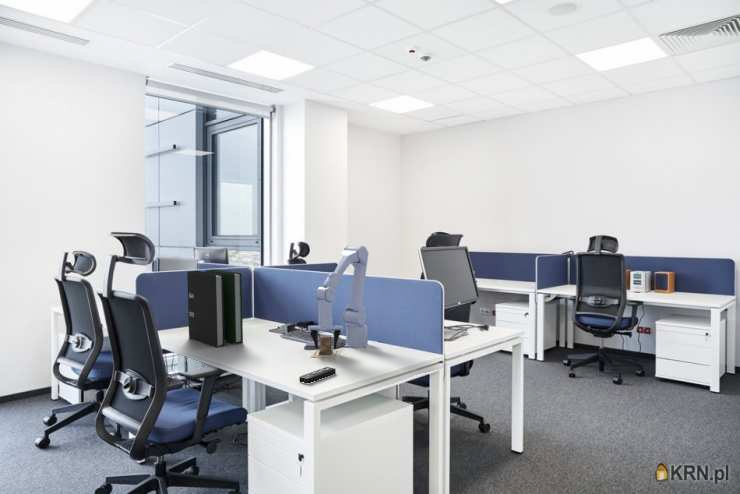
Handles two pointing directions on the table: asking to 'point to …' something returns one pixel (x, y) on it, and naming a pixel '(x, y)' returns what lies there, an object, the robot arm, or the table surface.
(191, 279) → the binders
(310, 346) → the pad
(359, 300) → the robot arm
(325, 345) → the stamp
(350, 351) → the table surface
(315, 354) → the card
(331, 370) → the multiport hub
